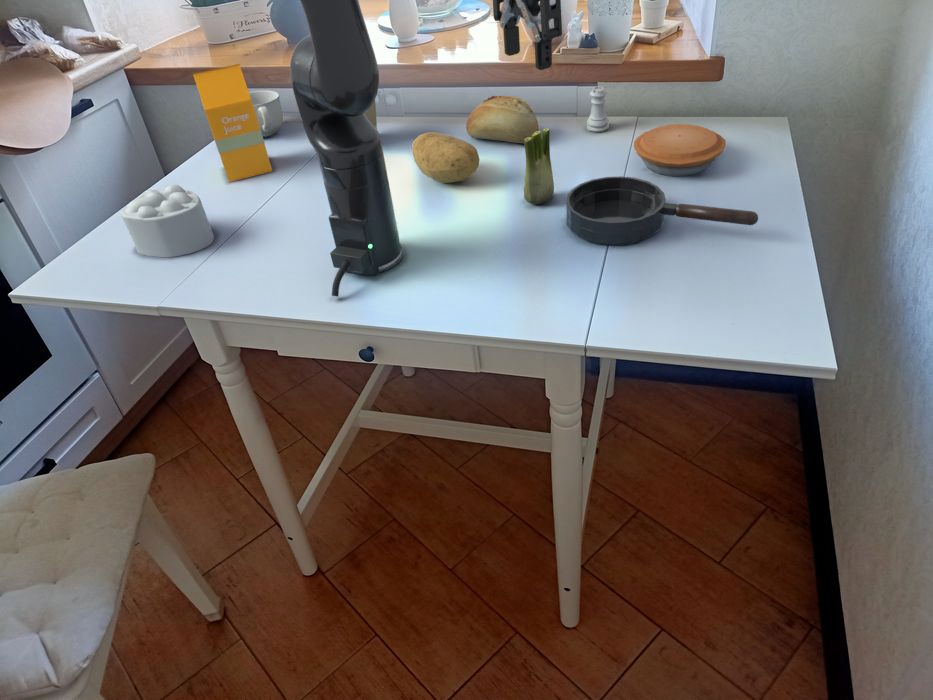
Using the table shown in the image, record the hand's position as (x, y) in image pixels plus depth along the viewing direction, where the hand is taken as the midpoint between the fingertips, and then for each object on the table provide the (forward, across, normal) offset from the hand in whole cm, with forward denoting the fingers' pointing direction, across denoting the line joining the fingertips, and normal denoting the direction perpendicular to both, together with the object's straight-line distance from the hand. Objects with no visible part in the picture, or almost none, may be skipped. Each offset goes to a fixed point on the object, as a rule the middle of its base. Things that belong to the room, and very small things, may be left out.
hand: (527, 61), depth 102 cm
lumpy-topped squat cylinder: (+25, -31, -53) cm, 66 cm away
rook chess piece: (+25, -22, +28) cm, 44 cm away
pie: (+25, -1, +30) cm, 39 cm away
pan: (+25, +10, +9) cm, 28 cm away
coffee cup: (+25, -49, -12) cm, 56 cm away
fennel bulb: (+25, -4, +3) cm, 26 cm away
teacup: (+25, -68, -28) cm, 78 cm away
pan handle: (+22, +21, +17) cm, 35 cm away
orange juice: (+25, -52, -36) cm, 68 cm away
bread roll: (+25, -31, +12) cm, 41 cm away
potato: (+25, -21, -5) cm, 33 cm away
